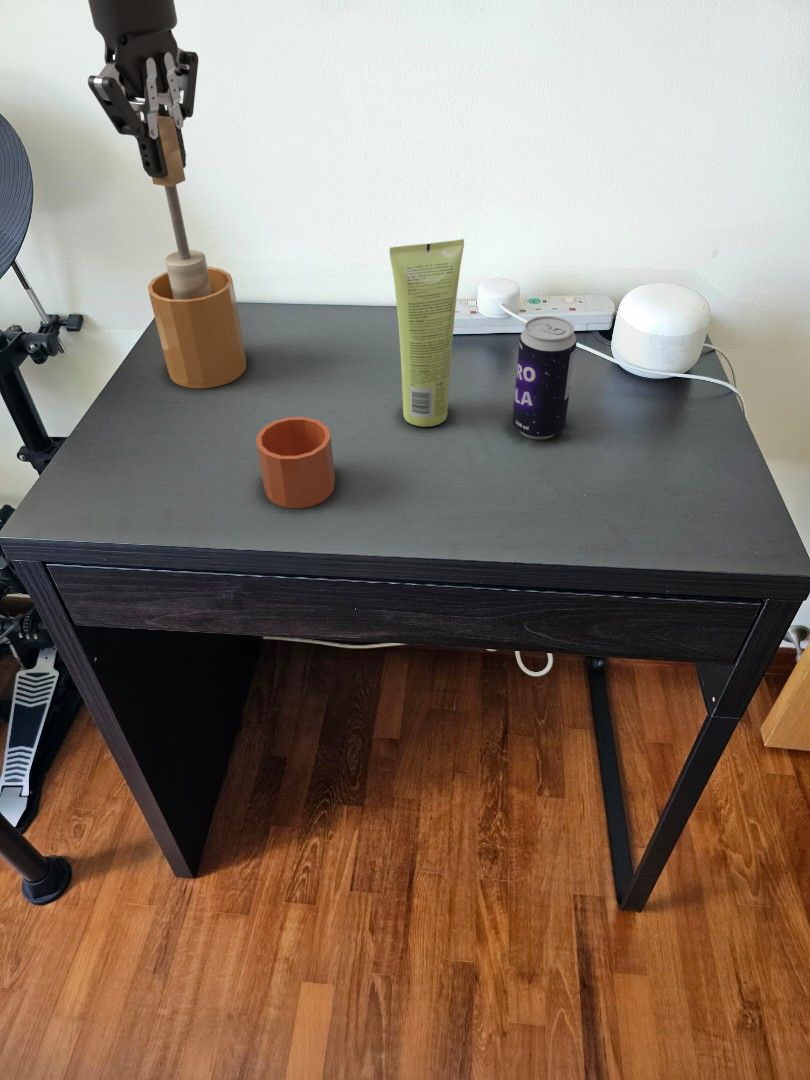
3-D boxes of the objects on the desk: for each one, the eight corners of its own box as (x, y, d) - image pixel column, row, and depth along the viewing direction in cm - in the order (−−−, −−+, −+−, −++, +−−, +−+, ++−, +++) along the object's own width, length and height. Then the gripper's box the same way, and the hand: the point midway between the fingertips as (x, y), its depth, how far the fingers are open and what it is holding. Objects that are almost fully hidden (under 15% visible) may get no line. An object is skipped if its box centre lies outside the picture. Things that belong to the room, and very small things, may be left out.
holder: (311, 516, 76) (305, 466, 72) (250, 496, 78) (241, 446, 74) (348, 476, 80) (344, 427, 76) (289, 458, 83) (282, 410, 79)
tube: (420, 397, 91) (420, 227, 78) (458, 409, 89) (464, 237, 76) (394, 421, 88) (388, 247, 75) (433, 434, 86) (434, 257, 73)
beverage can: (528, 408, 89) (538, 309, 81) (573, 424, 87) (588, 323, 79) (502, 432, 86) (510, 330, 78) (548, 449, 83) (561, 346, 75)
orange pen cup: (215, 395, 93) (197, 307, 85) (152, 378, 96) (130, 291, 88) (261, 359, 99) (248, 274, 91) (201, 344, 102) (183, 260, 95)
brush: (198, 319, 90) (159, 127, 76) (168, 312, 91) (124, 122, 78) (222, 304, 93) (188, 116, 79) (192, 297, 94) (153, 111, 81)
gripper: (144, -43, 76) (181, 149, 88) (34, -25, 67) (92, 188, 79) (206, -41, 74) (236, 157, 85) (101, -21, 64) (150, 198, 76)
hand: (166, 171), depth 82 cm, fingers closed on brush, 2 cm apart
